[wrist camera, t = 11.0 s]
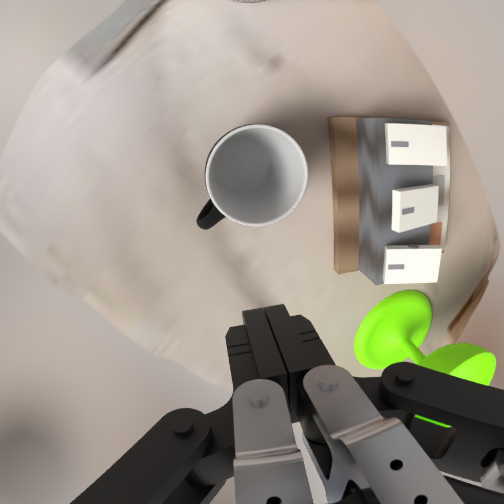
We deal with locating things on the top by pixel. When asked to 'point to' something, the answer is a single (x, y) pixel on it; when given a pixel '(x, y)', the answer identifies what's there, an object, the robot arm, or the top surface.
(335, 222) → the switch unit
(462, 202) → the top surface
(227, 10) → the top surface
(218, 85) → the top surface
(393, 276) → the switch far
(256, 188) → the mug
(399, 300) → the wineglass
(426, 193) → the switch middle
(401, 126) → the switch near
